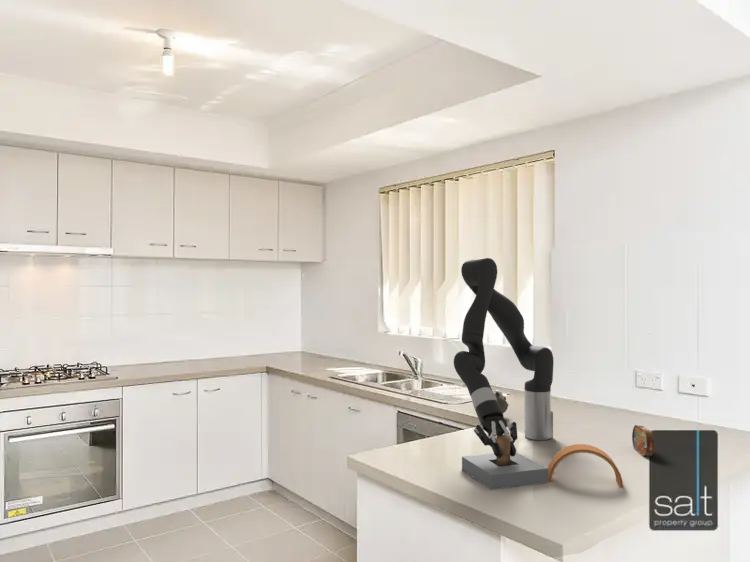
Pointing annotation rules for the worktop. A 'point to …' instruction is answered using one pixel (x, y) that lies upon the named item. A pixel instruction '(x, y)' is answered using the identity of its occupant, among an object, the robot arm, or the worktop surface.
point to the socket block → (504, 471)
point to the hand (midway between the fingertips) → (506, 455)
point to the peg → (503, 450)
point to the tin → (643, 440)
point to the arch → (582, 449)
